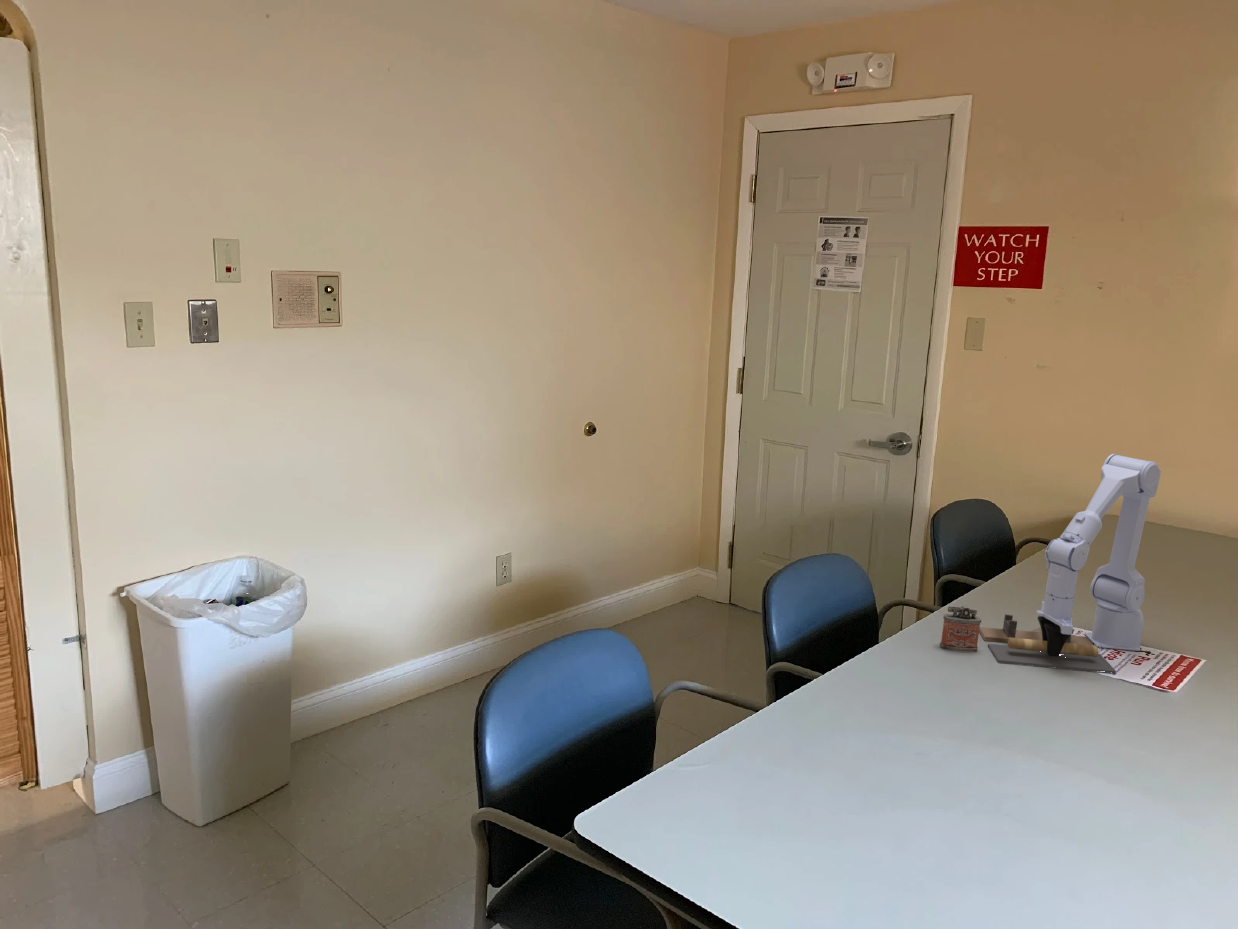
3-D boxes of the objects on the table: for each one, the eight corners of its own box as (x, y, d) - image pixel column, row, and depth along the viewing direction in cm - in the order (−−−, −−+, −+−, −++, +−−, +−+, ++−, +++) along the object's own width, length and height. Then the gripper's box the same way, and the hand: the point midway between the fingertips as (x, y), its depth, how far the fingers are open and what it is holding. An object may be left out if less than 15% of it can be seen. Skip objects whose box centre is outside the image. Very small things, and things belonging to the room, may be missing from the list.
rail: (1092, 653, 198) (1094, 643, 198) (1096, 658, 196) (1098, 648, 195) (1006, 645, 201) (1008, 635, 200) (1009, 650, 198) (1011, 640, 198)
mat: (1100, 656, 201) (1100, 654, 201) (1115, 674, 193) (1116, 671, 192) (987, 646, 204) (988, 643, 204) (998, 662, 196) (998, 660, 196)
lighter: (974, 647, 204) (980, 605, 202) (979, 653, 200) (984, 610, 198) (938, 644, 204) (943, 602, 202) (941, 650, 201) (947, 607, 199)
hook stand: (1085, 640, 210) (1088, 620, 209) (1095, 651, 204) (1098, 630, 203) (978, 630, 213) (980, 610, 212) (984, 640, 207) (987, 620, 206)
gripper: (1030, 581, 203) (1022, 638, 206) (1051, 604, 189) (1042, 664, 192) (1063, 584, 202) (1054, 641, 205) (1086, 607, 188) (1077, 668, 191)
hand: (1050, 652), depth 198 cm, fingers closed on rail, 2 cm apart
